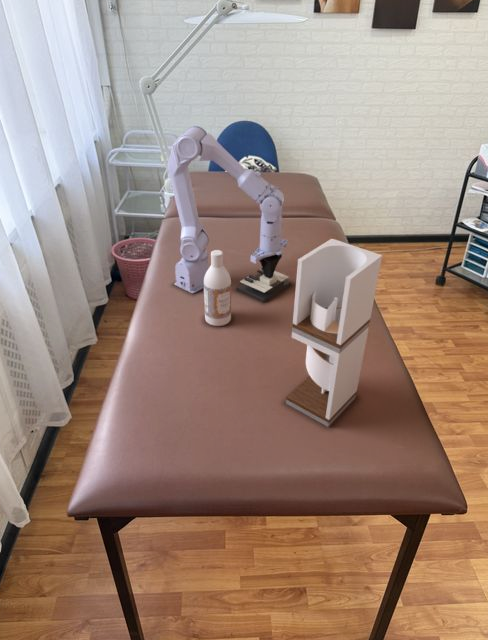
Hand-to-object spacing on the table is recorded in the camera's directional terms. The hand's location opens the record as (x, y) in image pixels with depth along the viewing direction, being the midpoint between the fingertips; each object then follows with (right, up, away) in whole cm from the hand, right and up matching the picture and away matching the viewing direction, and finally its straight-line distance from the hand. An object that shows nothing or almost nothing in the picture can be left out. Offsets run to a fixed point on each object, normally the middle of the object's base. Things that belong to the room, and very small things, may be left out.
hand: (268, 276), depth 146 cm
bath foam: (-14, -12, -11) cm, 22 cm away
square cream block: (0, -2, +1) cm, 2 cm away
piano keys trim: (-1, -1, +2) cm, 2 cm away
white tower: (+10, -30, -36) cm, 48 cm away
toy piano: (-1, -3, +3) cm, 5 cm away
